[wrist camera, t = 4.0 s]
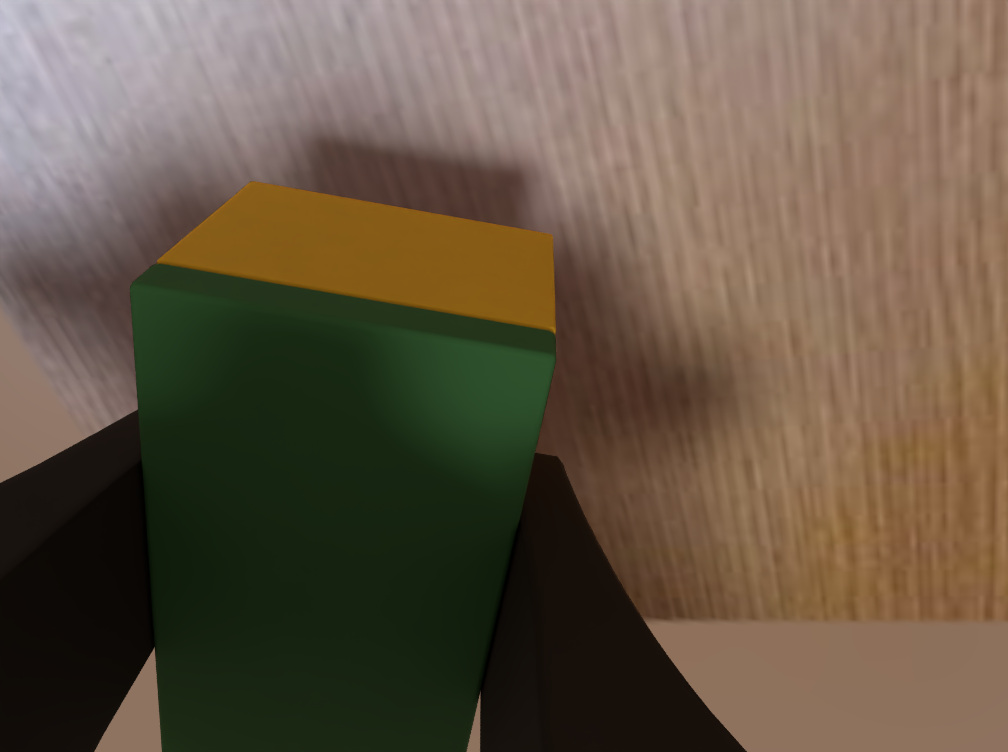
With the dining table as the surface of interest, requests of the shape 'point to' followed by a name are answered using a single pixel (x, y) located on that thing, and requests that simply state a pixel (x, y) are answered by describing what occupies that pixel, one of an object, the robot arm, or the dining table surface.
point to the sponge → (335, 466)
